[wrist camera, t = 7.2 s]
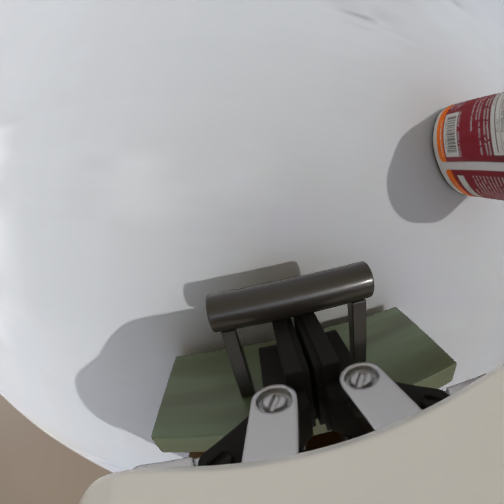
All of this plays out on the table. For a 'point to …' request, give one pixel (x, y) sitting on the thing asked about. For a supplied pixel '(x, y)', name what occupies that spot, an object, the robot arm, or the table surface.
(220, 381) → the drawer
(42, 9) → the table surface
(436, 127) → the pill bottle
